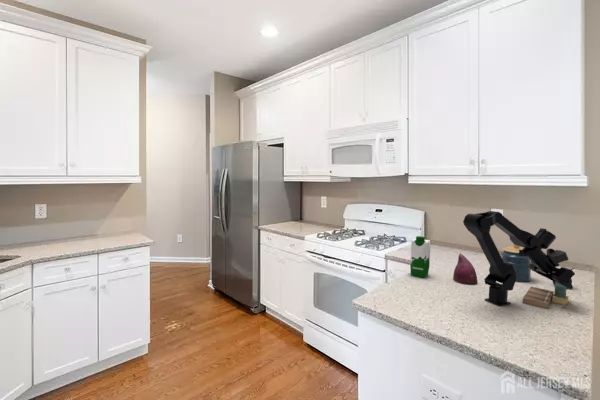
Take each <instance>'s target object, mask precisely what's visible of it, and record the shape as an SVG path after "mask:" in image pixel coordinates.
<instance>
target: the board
mask: <svg viewBox="0 0 600 400" xmlns="http://www.w3.org/2000/svg"><path fill="white" fill-rule="evenodd" d="M554 293H555V290H550V289H545V288H540V287H536V286H530V287H529V288H528V290H527V291H526V293H524V296H523V297H522V304H524V305H525V304H526V305H529V306H534V307H538V308H542V309H547V310H548V309H549V307H550V305H551V303H552V297H553V295H554Z"/></svg>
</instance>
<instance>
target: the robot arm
mask: <svg viewBox="0 0 600 400" xmlns="http://www.w3.org/2000/svg"><path fill="white" fill-rule="evenodd" d="M462 222H463V225H464V227H465V228H466V230H467V231H468V232H469V233H471V234H472V235H473V236H474V237H475V238H476V240H477V242H478V244H479V246H480V248H481V250H482V252H483V254H484V256H485V258H486V260H487V262H488V264H489V267H488V268H489V269H488V271H489V273H488V274H487V275H486V277H485V278H484V284H485V285H488V286H489V287H488V297H486V298H484V301H486V302H489V303H491V304H493V305H496V306H498V307H501V306H507V305H511V303H512V302H510V301H508V293H509V292H508V291H513V290H514V287H515V285H516V284H515V283H516V282H517V281H516V274H515V273H516V272H515V270H514V268H513V266H512V265H511V264H508V263H505V262H504V261H503V259H502V255H501V252H500V251H499V250H498V248H497V245H496V243H495V241H494V240H493V237H492V236H491V234H490V232H491V227H493V226H496V227H497V228H498V229H500V231H502V232H503V233H505V234H506V235H507V236H508V237H509V240H510V242H511V243H512V244H513V245H516V246H520V247H521V248H523V249H522V250H519V256H523V257H526V256H527V257H528V258H529V259H530V262H531V264H530V265H529V268H530V269H531V271H532V272H534V273H535V274H538V275H540V276H542V277H544V278H547V280H550V281H551V282H553V281H554V282H557V283H559V284H561V285H563V286H565V287H567V288H566V289H568V290H569V289H570V290H572V289H573V288H574V286H573V283H572V284H571V281H570V278H571V279H572V278H573V277H574V276H575V275H576V273H575V272H574V271H573V269H572V268H568V267H564V266H561V267H560V269H558V267H559V266H560V263H563V262H567V261H569V257H568V254H567V252H566V251H564V250H559V249H554V248H549V247H550V246H551V245H552V243H554V241H555V240H556V238H557V236H556V235H555V234H554V233H552V232H551V231H549V230H547V228H541V227H540V228H539V229H538V231H537V232H536V233H535V234H533V233H531V232H529V231H526V230H523V229H521V228H519V227H518V226H517V225H516V224H515V223H513V222H512V221H511V220H510V219H508V218H507V217H506V216H504V215H503V214H502V213H501V212H500V211H493V210H488V211H485V212H479V213H478V212H477V213H468V214H466V215H465V216H464V218H463V221H462ZM543 250H546V253H545V252H544V251H543ZM571 269H572V270H571Z"/></svg>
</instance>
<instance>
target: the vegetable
mask: <svg viewBox="0 0 600 400" xmlns="http://www.w3.org/2000/svg"><path fill="white" fill-rule="evenodd" d="M457 259H458V260H457V262H456V263H457V264H456V265H455V268H454V272H453V277H452V280H453V281H454V282H456V283H459V284H462V285H468V286H470V285H471V286H472V285H473V286H474V285H477V284H478V277H477V272H476V268H475V267H474V265H473V264H472V263H471V262H470V260H469V259H468V258H467V257H466V256H465V255H464V254H462V253H461V252H459V254H458V258H457Z"/></svg>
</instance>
